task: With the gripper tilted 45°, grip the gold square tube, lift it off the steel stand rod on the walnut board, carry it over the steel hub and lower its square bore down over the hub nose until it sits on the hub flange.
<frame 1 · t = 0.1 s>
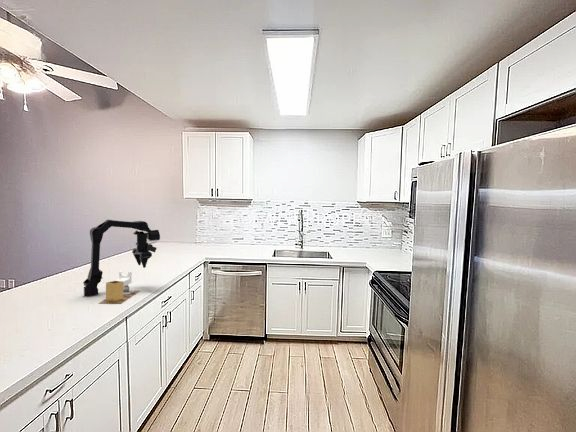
hand: (141, 266, 216), 15 cm above the countertop, tool pointing down, fingers open, 9 cm apart
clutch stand: (120, 299, 197), on the countertop
bracket: (121, 285, 228), on the countertop
gold square tube: (114, 300, 189), point 1 cm above the countertop, touching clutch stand
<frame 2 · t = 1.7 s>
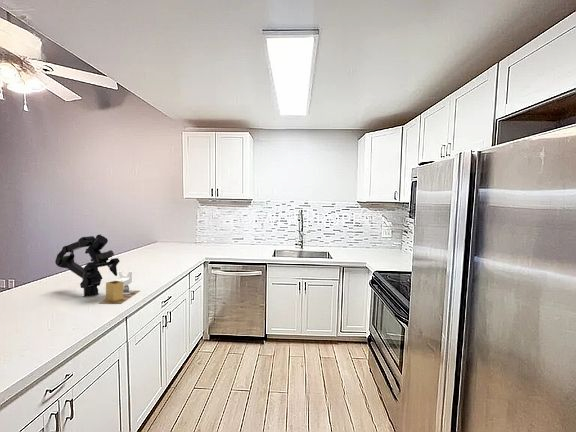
hand: (109, 277, 191), 13 cm above the countertop, tool tilted 45°, fingers open, 9 cm apart
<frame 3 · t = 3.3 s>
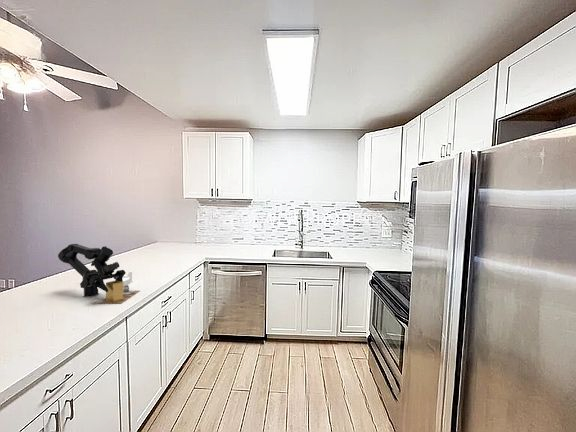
hand: (115, 289, 189), 8 cm above the countertop, tool tilted 45°, fingers open, 9 cm apart
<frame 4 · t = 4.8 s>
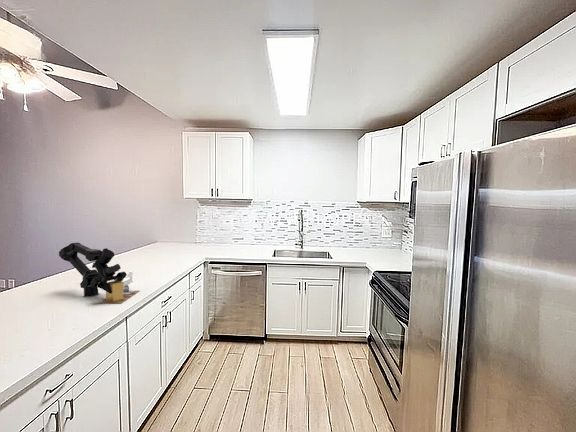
hand: (116, 291, 188), 7 cm above the countertop, tool tilted 45°, fingers closed on gold square tube, 6 cm apart
gold square tube: (114, 300, 189), point 1 cm above the countertop, touching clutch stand, gripper
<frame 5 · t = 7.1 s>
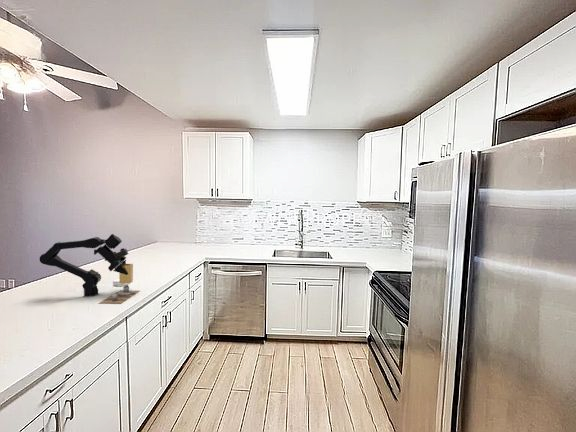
hand: (128, 273, 203), 13 cm above the countertop, tool tilted 45°, fingers closed on gold square tube, 6 cm apart
gold square tube: (126, 281, 203), point 8 cm above the countertop, touching gripper
when the fingers open (8 cm above the countertop, at t = 9.6 s): gold square tube stays where it is, resting on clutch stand.
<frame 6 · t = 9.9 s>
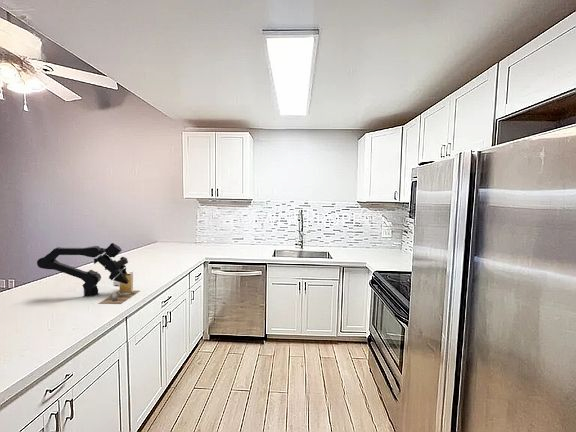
hand: (128, 281, 204), 8 cm above the countertop, tool tilted 45°, fingers open, 9 cm apart
gold square tube: (126, 291, 204), point 2 cm above the countertop, touching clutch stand
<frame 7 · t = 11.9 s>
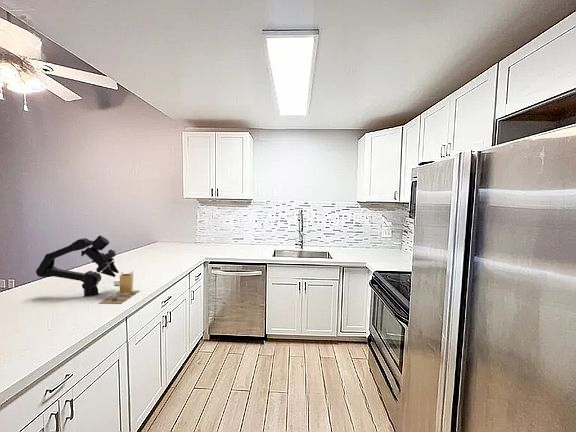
hand: (116, 274, 202), 13 cm above the countertop, tool tilted 45°, fingers open, 9 cm apart
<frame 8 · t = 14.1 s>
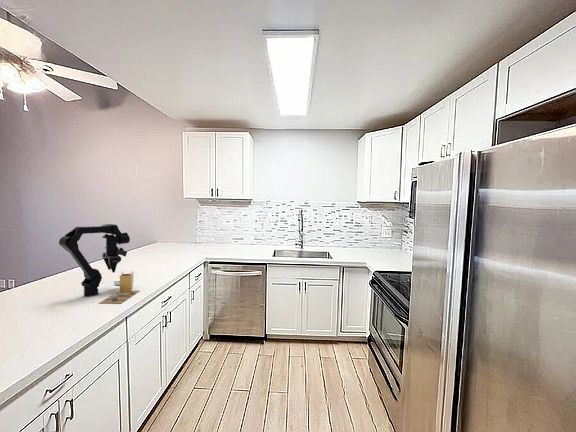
hand: (111, 271, 209), 13 cm above the countertop, tool pointing down, fingers open, 9 cm apart
at the end: gold square tube 0.0 cm from the target spot on the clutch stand, point 2.3 cm above the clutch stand's base; gold square tube tilted 0°; the gripper is holding nothing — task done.
